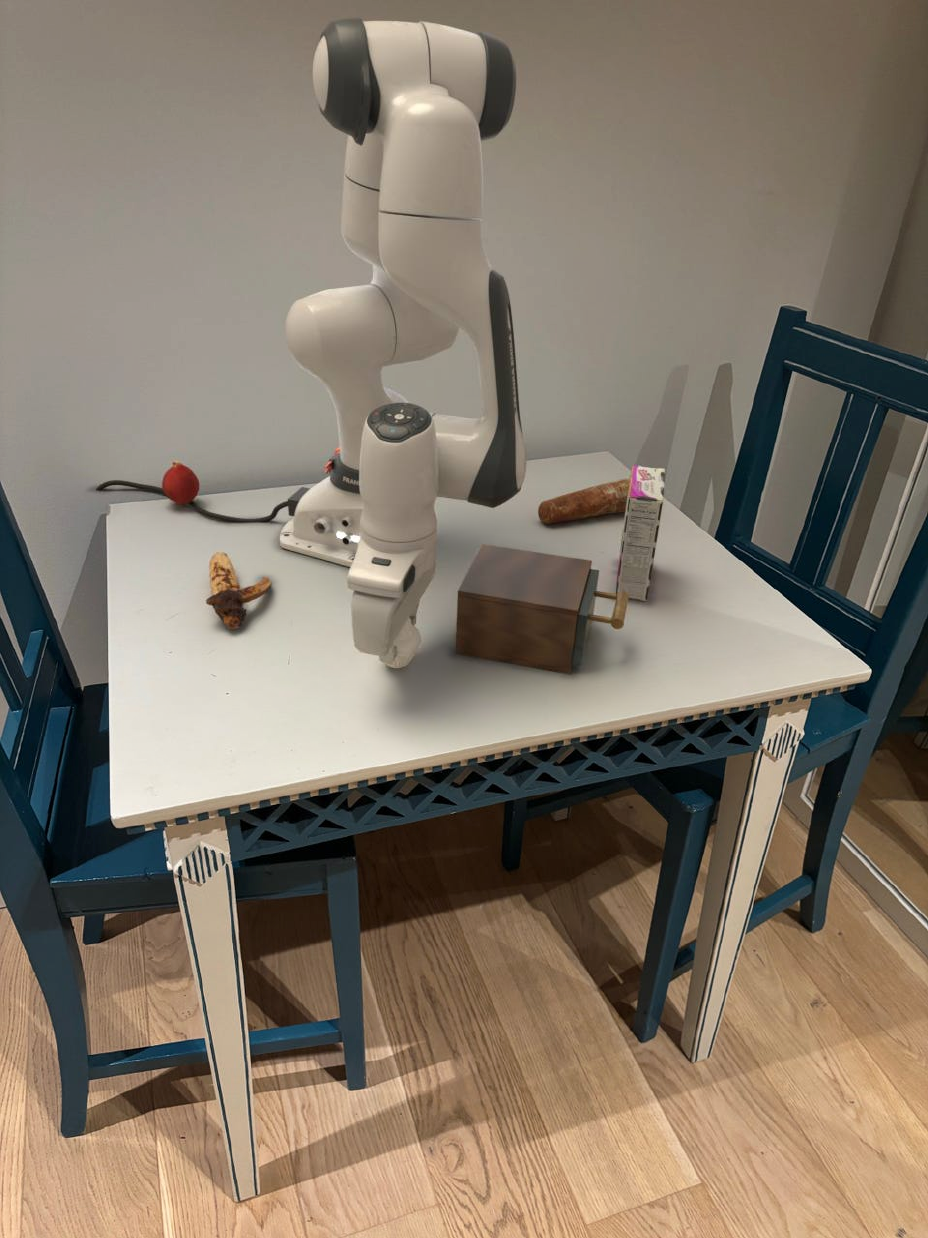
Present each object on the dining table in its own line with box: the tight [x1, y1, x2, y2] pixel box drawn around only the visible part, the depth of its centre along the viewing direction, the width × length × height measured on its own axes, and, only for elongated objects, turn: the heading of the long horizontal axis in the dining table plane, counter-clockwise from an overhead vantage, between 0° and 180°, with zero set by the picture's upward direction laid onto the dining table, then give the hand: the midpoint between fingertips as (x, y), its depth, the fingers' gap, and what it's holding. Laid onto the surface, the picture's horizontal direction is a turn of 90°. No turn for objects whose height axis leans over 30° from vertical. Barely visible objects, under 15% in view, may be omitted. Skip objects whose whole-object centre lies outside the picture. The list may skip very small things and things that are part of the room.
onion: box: [161, 460, 200, 507], centre depth 147 cm, size 6×6×8 cm
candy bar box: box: [615, 465, 666, 602], centre depth 129 cm, size 11×5×16 cm, turn 168°
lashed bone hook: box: [205, 551, 272, 630], centre depth 124 cm, size 9×5×18 cm
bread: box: [537, 477, 631, 525], centre depth 151 cm, size 6×19×6 cm, turn 113°
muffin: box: [384, 618, 422, 669], centre depth 111 cm, size 6×6×7 cm
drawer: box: [572, 568, 630, 668], centre depth 117 cm, size 18×12×8 cm, turn 76°
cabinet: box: [454, 543, 593, 675], centre depth 117 cm, size 15×13×10 cm
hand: (398, 643), depth 111 cm, fingers closed on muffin, 6 cm apart
